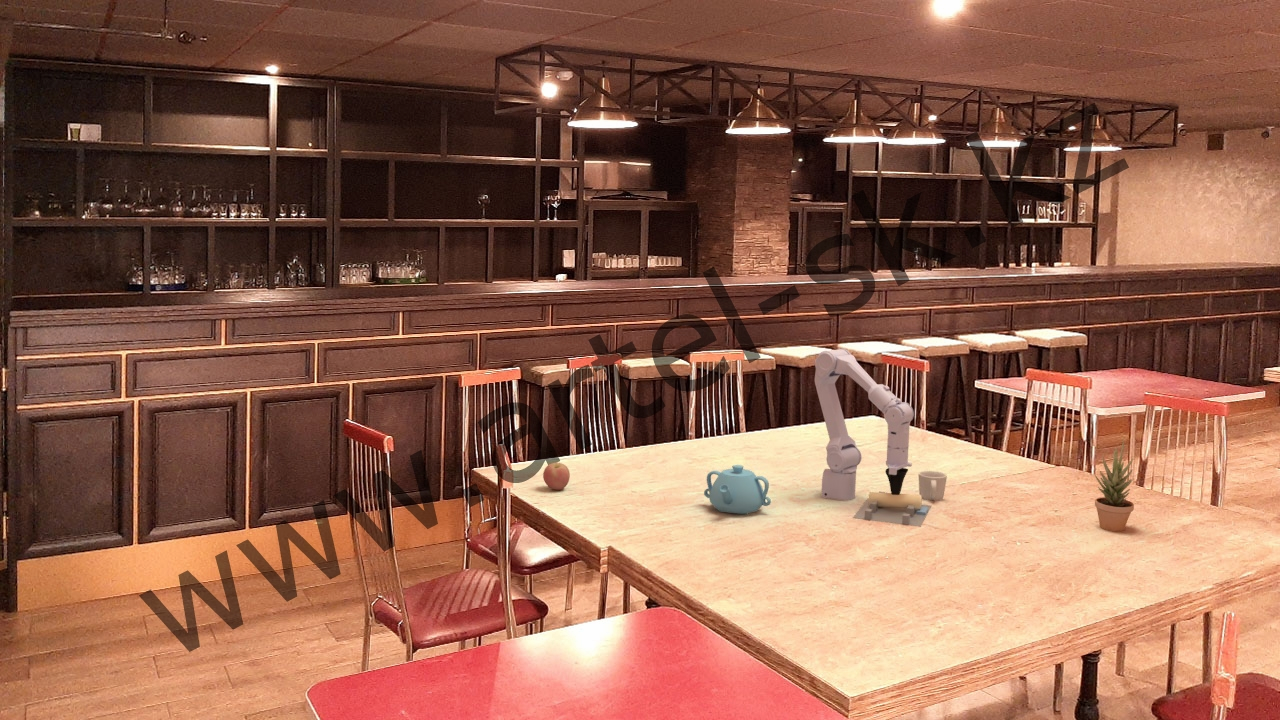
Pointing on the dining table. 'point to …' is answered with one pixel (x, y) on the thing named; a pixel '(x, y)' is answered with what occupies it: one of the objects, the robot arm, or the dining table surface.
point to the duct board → (893, 514)
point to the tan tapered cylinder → (895, 500)
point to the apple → (556, 476)
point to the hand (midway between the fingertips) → (895, 494)
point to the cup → (932, 485)
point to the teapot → (737, 491)
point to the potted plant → (1114, 496)
